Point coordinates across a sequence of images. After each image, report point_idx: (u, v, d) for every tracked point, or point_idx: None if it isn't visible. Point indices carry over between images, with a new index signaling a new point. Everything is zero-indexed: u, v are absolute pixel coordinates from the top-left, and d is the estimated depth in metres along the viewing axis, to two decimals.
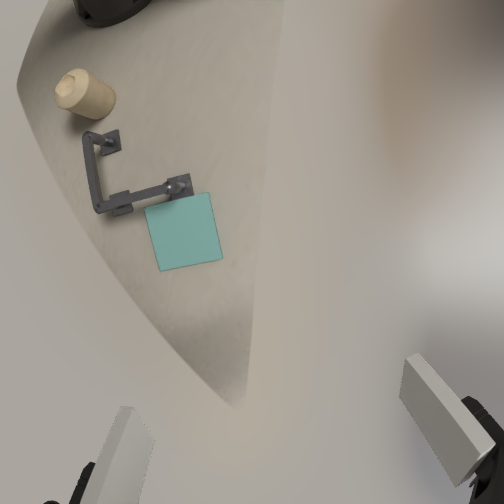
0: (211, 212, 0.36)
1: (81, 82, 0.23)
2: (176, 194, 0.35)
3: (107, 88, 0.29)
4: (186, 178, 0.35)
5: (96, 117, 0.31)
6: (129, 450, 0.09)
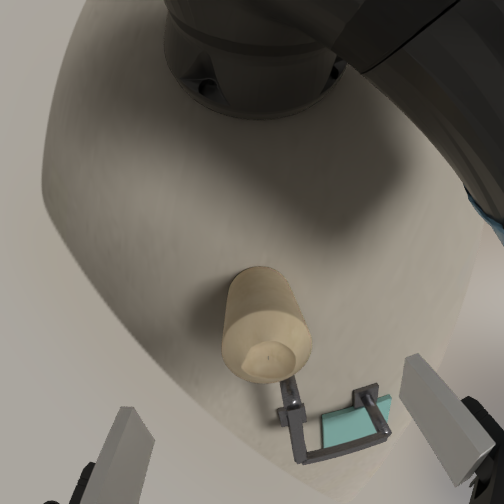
0: (388, 411, 0.28)
1: (303, 355, 0.15)
2: (360, 404, 0.28)
3: None
4: (375, 390, 0.27)
5: None
6: (129, 450, 0.09)
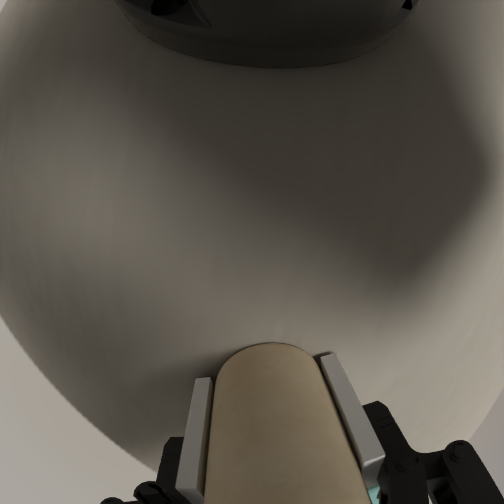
0: None
1: None
2: None
3: None
4: None
5: None
6: None
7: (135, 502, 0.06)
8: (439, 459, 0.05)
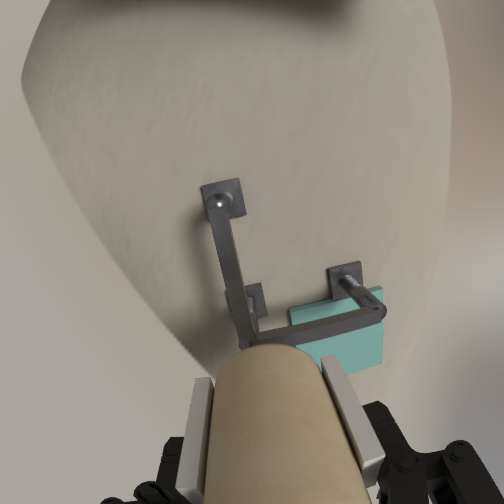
0: None
1: None
2: (341, 292, 0.24)
3: None
4: (357, 269, 0.23)
5: None
6: None
7: (135, 502, 0.06)
8: (439, 459, 0.05)
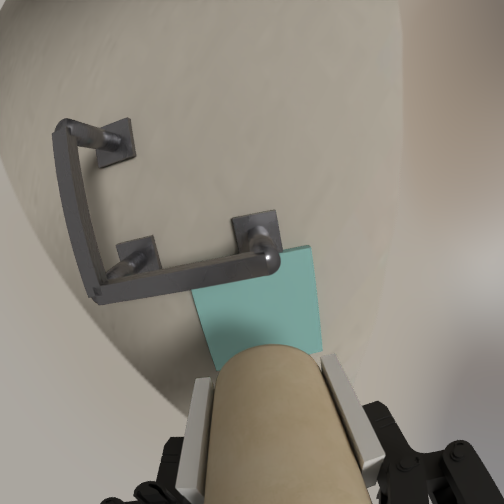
0: (313, 282, 0.20)
1: None
2: (250, 249, 0.20)
3: (334, 406, 0.10)
4: (270, 219, 0.19)
5: None
6: (211, 419, 0.11)
7: (135, 502, 0.06)
8: (439, 459, 0.05)
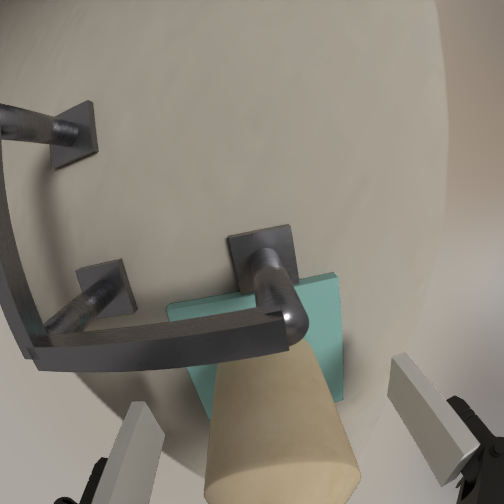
0: (339, 321, 0.14)
1: (346, 502, 0.06)
2: None
3: (325, 381, 0.12)
4: (283, 239, 0.13)
5: None
6: (141, 444, 0.09)
7: None
8: None
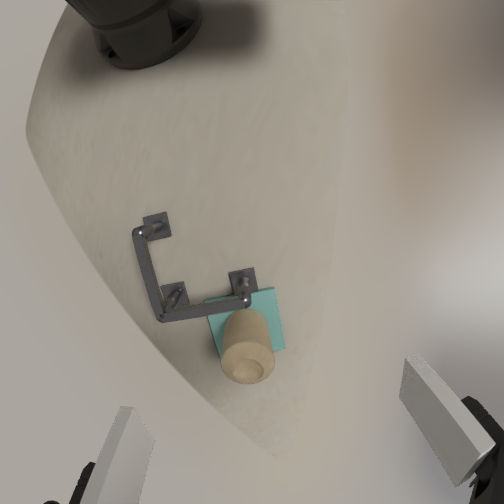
0: (277, 307, 0.35)
1: (268, 367, 0.26)
2: None
3: (268, 330, 0.32)
4: (250, 273, 0.34)
5: None
6: (129, 450, 0.09)
7: None
8: None
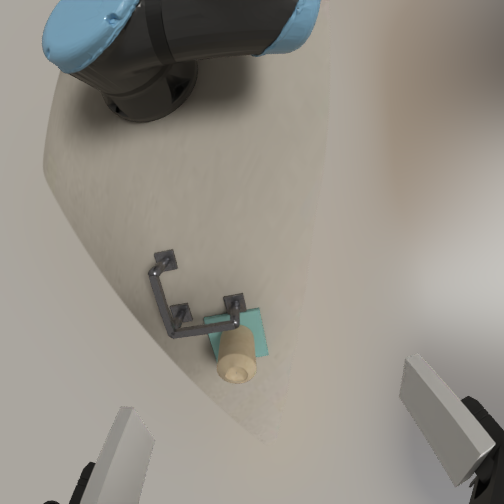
0: (261, 324, 0.44)
1: (251, 372, 0.36)
2: None
3: (253, 342, 0.42)
4: (240, 298, 0.43)
5: None
6: (129, 450, 0.09)
7: None
8: None
